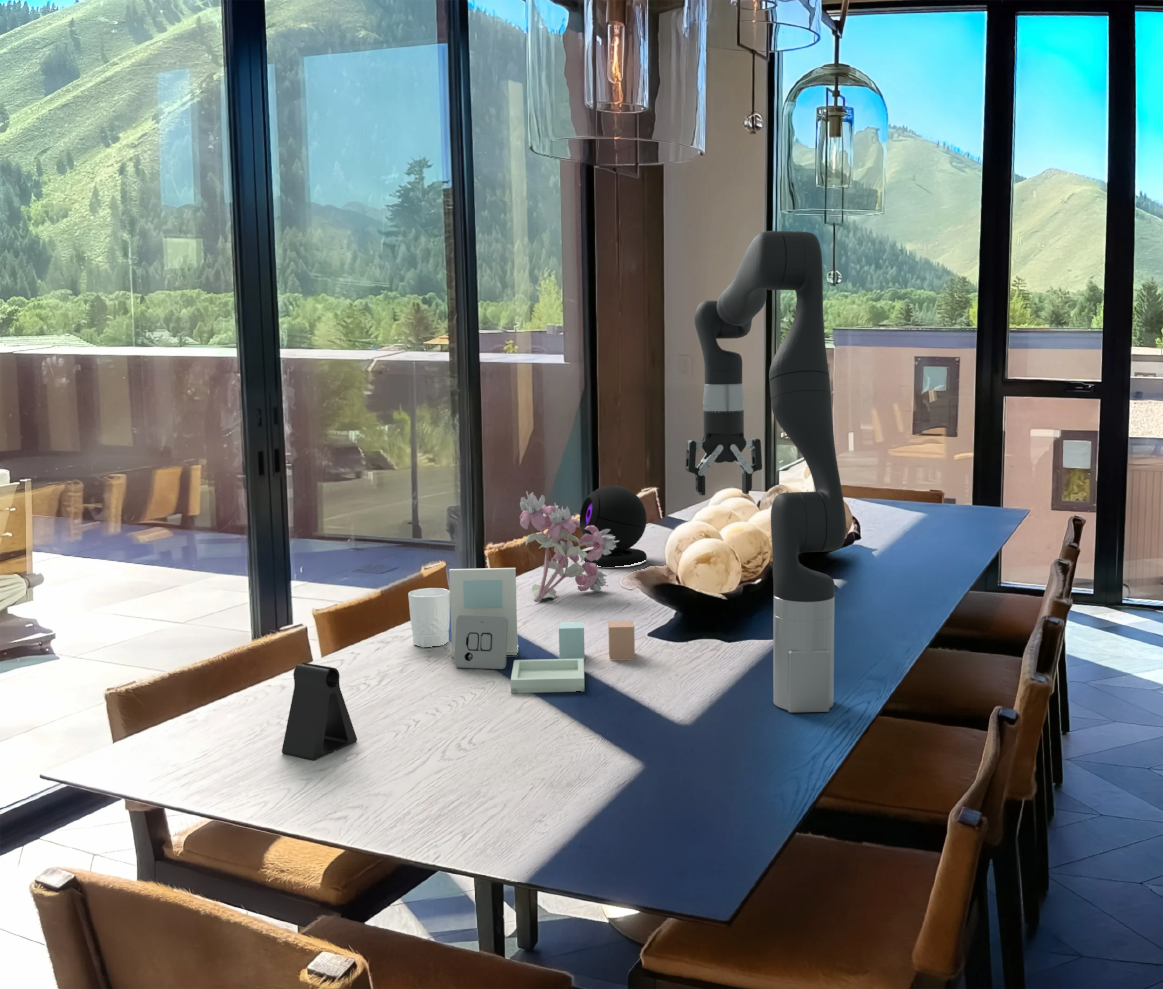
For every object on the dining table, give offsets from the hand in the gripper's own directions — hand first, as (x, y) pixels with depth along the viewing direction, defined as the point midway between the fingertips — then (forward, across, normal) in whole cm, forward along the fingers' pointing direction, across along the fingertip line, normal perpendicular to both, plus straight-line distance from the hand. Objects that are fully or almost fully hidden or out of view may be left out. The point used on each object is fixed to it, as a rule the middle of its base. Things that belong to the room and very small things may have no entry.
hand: (723, 494), depth 219 cm
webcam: (+27, -6, +81) cm, 86 cm away
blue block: (+28, -31, -7) cm, 42 cm away
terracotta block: (+28, -22, -9) cm, 36 cm away
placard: (+28, -46, -2) cm, 54 cm away
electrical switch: (+28, -47, -9) cm, 56 cm away
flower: (+28, -22, +45) cm, 57 cm away
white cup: (+28, -56, +9) cm, 63 cm away
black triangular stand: (+28, -73, -46) cm, 91 cm away
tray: (+28, -37, -22) cm, 51 cm away
